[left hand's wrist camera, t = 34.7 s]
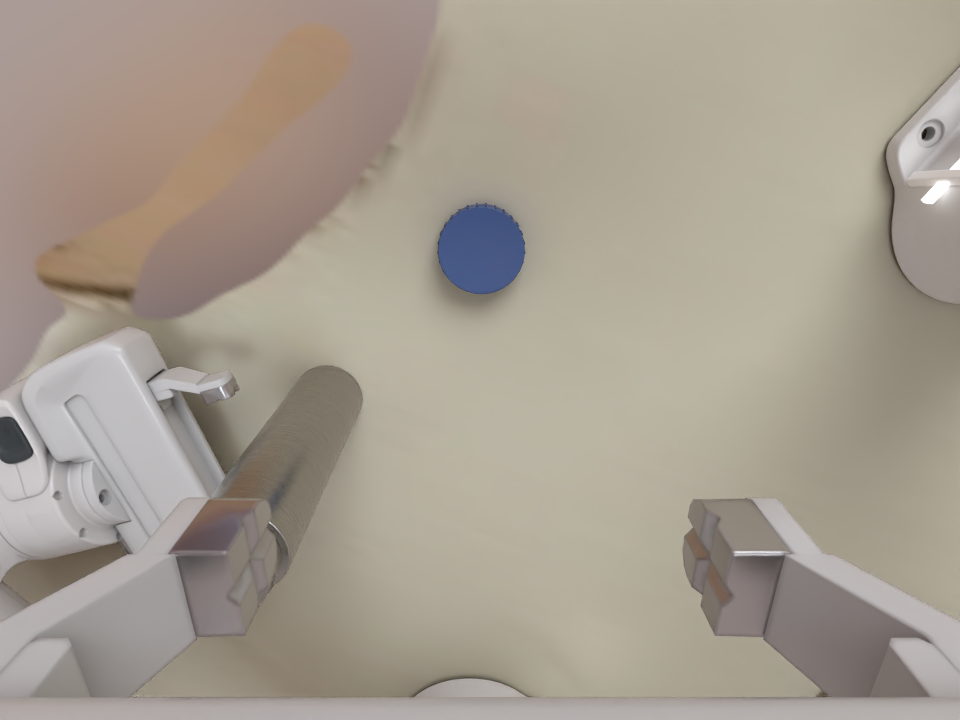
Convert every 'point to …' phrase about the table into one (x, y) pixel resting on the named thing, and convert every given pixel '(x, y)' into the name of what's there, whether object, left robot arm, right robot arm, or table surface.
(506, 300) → the table surface
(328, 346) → the table surface
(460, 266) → the lid
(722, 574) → the left robot arm
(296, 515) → the jar
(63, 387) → the right robot arm
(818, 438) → the table surface
